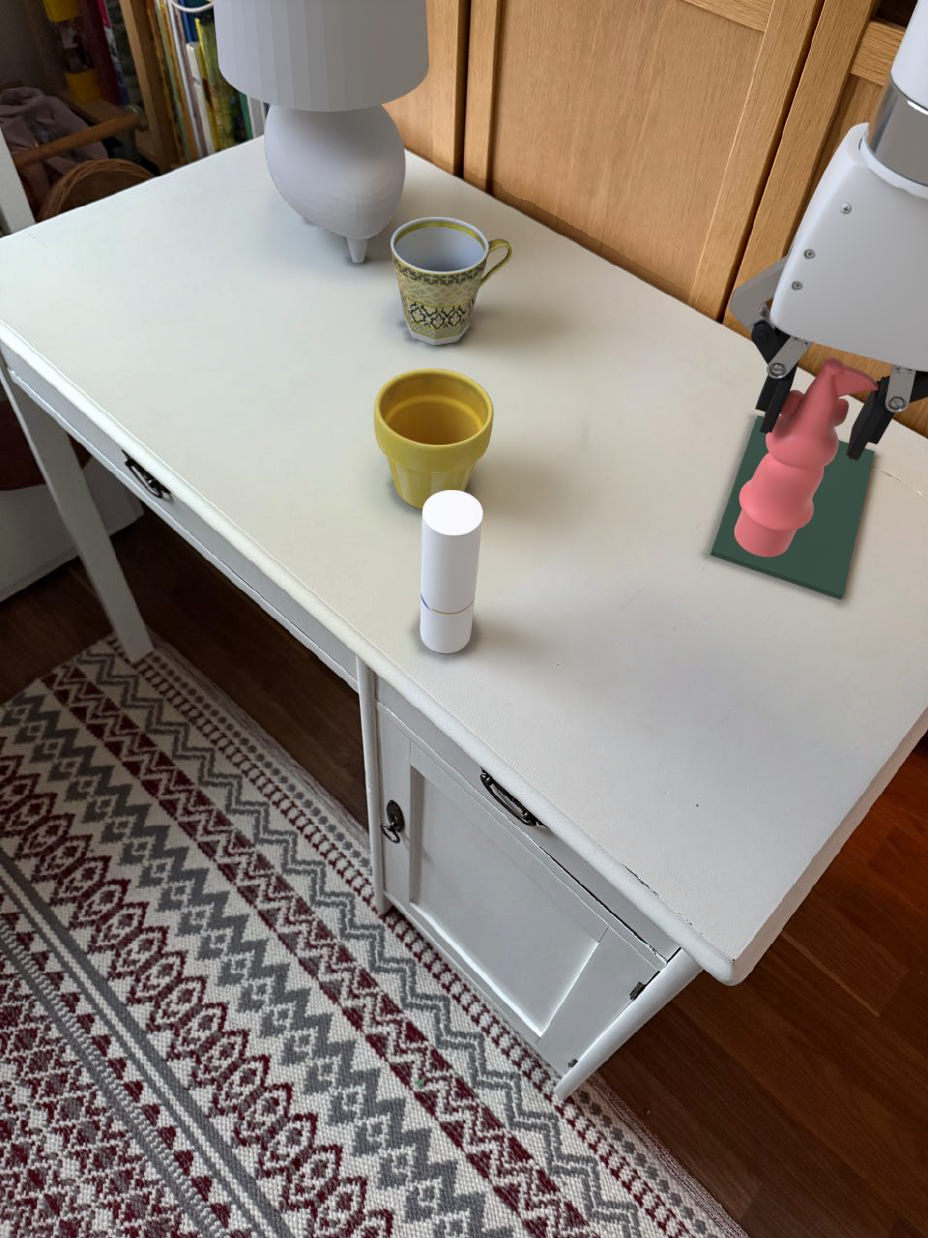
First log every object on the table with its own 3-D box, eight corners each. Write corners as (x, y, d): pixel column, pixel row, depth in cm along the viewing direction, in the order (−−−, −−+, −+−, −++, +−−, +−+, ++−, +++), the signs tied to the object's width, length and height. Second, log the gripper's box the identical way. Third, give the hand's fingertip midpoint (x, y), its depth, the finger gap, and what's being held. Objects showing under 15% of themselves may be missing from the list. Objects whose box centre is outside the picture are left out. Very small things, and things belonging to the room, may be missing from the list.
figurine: (802, 516, 65) (886, 340, 53) (799, 569, 62) (888, 397, 50) (730, 501, 66) (797, 325, 53) (723, 553, 63) (793, 379, 50)
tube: (480, 626, 77) (494, 506, 65) (453, 662, 75) (462, 544, 62) (438, 603, 78) (443, 481, 66) (410, 637, 76) (410, 517, 64)
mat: (872, 455, 92) (874, 450, 91) (840, 599, 81) (843, 595, 80) (756, 419, 94) (757, 414, 93) (709, 555, 83) (711, 550, 82)
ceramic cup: (406, 363, 96) (406, 279, 88) (380, 306, 101) (378, 223, 93) (520, 342, 99) (531, 260, 91) (489, 288, 104) (496, 206, 96)
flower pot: (476, 442, 90) (483, 362, 82) (494, 521, 84) (503, 443, 76) (371, 450, 88) (368, 369, 80) (382, 530, 82) (380, 452, 74)
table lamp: (459, 266, 106) (482, -173, 74) (283, 307, 100) (223, -152, 68) (384, 169, 118) (376, -248, 85) (222, 200, 112) (146, -236, 79)
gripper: (1150, 137, 42) (955, 433, 57) (785, 57, 45) (691, 358, 60) (1159, 220, 38) (946, 516, 52) (756, 125, 41) (663, 430, 55)
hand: (812, 429), depth 56 cm, fingers closed on figurine, 4 cm apart
